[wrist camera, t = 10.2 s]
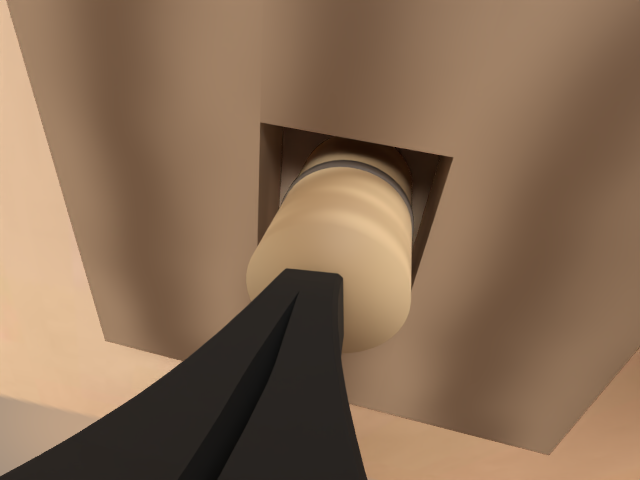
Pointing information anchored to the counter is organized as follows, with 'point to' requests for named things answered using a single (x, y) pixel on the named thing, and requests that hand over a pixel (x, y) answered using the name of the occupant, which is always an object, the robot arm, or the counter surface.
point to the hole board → (376, 127)
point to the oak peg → (347, 235)
